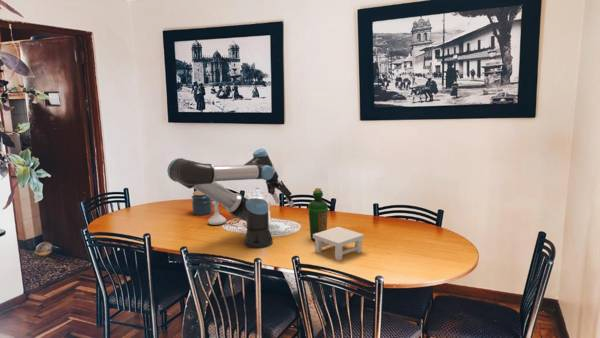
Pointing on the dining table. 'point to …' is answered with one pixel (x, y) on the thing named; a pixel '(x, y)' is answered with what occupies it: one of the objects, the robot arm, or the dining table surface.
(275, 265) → the dining table surface
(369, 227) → the dining table surface
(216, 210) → the flower in vase
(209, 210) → the canister
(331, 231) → the stool
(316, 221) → the bottle
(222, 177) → the robot arm
